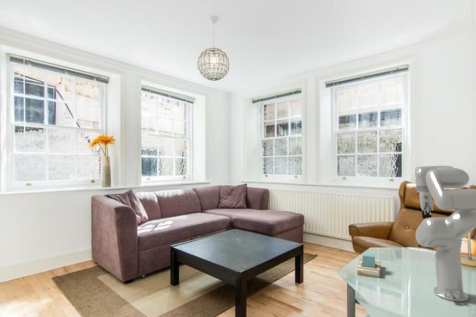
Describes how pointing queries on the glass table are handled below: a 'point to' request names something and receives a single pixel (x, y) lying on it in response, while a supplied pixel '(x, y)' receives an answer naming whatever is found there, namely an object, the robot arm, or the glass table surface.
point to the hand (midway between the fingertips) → (427, 220)
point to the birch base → (369, 269)
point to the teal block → (369, 260)
